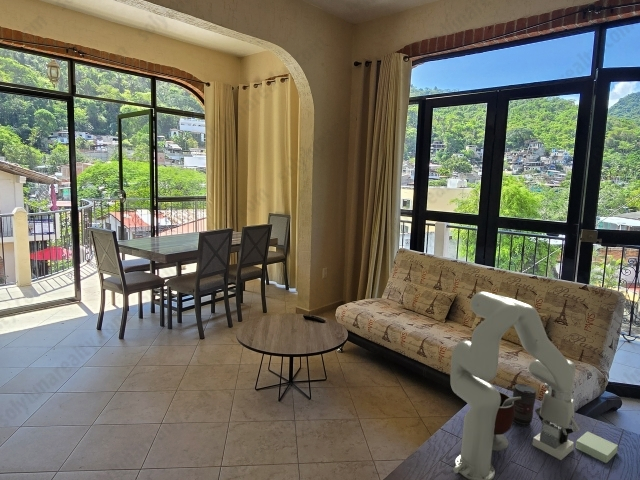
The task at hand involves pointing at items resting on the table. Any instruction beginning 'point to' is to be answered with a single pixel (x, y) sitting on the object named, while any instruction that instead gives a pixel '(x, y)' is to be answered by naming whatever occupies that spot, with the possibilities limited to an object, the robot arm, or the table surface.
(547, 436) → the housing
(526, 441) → the table surface
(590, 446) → the stand
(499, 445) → the mate gourd
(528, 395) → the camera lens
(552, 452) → the stand
